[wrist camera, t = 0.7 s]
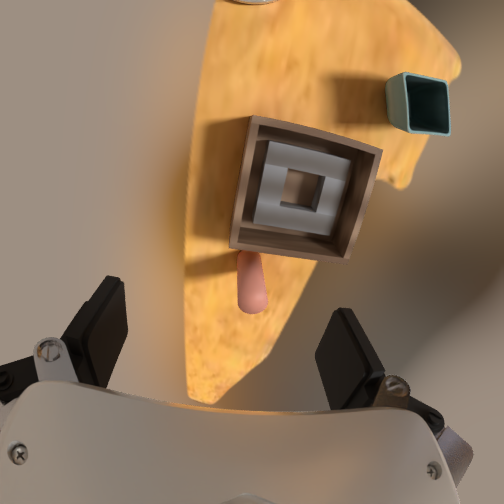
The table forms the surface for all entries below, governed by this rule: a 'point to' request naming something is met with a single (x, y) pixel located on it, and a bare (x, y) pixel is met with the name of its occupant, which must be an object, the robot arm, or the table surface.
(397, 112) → the flower pot
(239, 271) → the peg
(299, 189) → the open box
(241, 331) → the table surface
